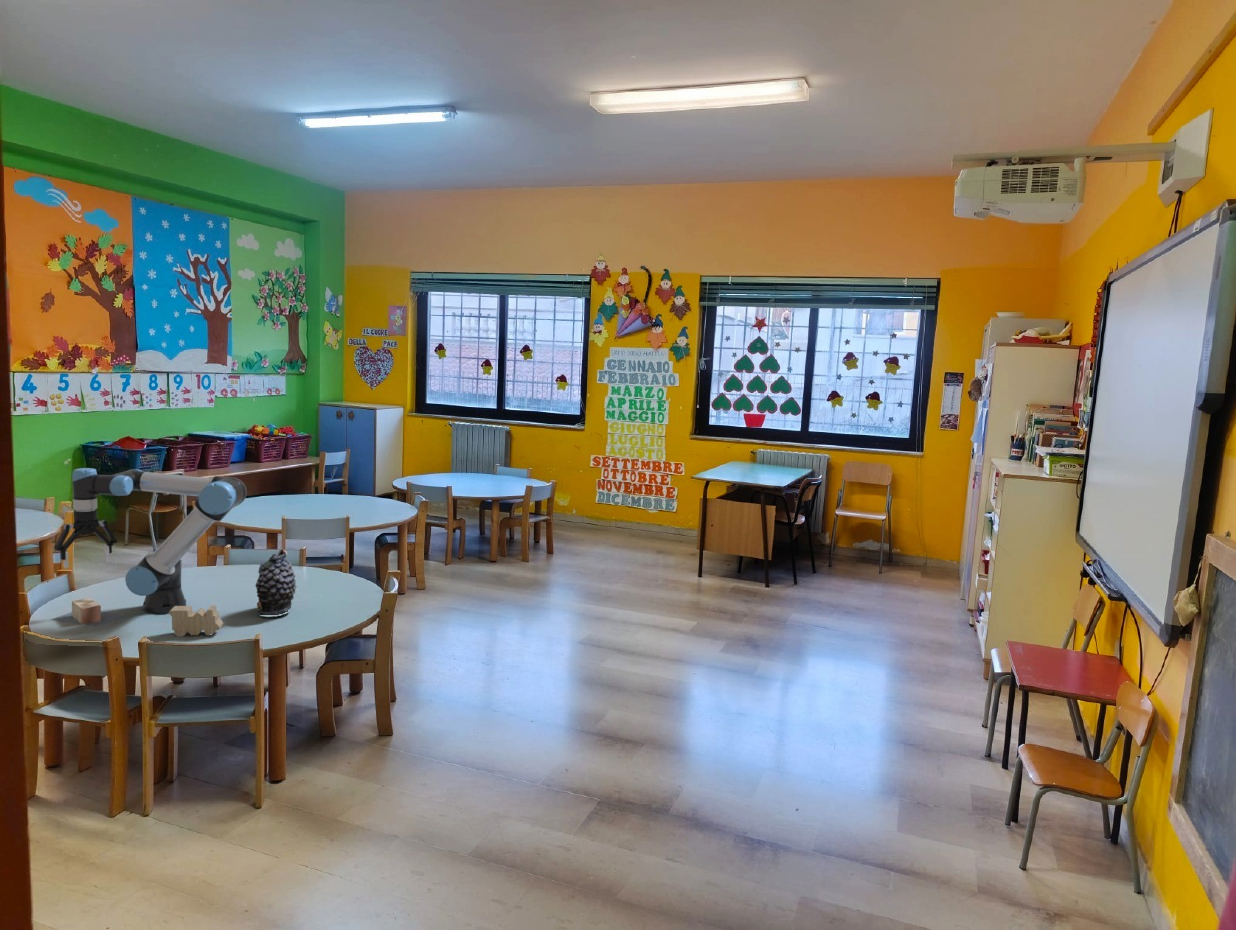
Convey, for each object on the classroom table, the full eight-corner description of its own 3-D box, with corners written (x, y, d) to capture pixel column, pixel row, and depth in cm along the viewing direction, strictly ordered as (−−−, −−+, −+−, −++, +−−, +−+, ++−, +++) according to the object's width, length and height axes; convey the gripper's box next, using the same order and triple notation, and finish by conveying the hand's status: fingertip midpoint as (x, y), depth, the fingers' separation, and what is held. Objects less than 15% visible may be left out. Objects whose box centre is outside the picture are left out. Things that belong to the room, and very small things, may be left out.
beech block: (90, 598, 310) (100, 605, 302) (90, 613, 310) (100, 621, 303) (71, 600, 305) (82, 608, 297) (72, 616, 306) (82, 624, 298)
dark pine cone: (260, 604, 335) (260, 545, 332) (298, 604, 339) (299, 545, 336) (250, 620, 315) (251, 558, 312) (291, 620, 319) (292, 558, 316)
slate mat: (126, 616, 311) (126, 615, 311) (96, 627, 297) (96, 626, 297) (81, 609, 314) (81, 608, 314) (50, 620, 301) (50, 619, 301)
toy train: (219, 636, 297) (219, 609, 296) (168, 636, 293) (168, 610, 292) (223, 631, 302) (223, 605, 301) (173, 631, 298) (173, 605, 297)
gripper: (117, 504, 314) (119, 557, 317) (42, 511, 294) (44, 568, 297) (126, 507, 309) (127, 561, 312) (50, 515, 290) (52, 572, 292)
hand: (86, 565), depth 305 cm, fingers open, 13 cm apart
